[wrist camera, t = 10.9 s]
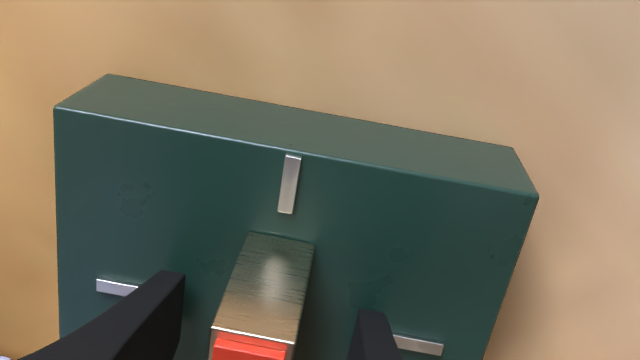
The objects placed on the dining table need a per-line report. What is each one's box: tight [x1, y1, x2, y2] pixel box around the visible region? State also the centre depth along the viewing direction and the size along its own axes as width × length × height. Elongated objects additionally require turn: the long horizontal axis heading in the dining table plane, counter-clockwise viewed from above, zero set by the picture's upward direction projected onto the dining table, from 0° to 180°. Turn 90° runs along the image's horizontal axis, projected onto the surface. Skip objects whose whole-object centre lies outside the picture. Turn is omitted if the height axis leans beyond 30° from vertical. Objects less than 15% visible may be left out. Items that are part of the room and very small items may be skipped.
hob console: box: [53, 74, 539, 360], centre depth 16 cm, size 11×9×3 cm
